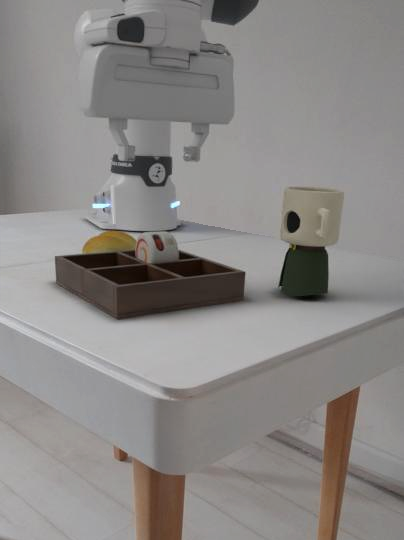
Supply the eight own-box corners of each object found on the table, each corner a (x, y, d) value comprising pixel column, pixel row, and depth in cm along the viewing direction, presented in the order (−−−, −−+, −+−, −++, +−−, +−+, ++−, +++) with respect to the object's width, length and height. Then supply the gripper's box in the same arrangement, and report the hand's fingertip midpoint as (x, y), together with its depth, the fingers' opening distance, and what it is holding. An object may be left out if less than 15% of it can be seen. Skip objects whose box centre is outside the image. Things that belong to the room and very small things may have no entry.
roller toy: (162, 269, 79) (163, 227, 77) (183, 279, 74) (185, 235, 72) (133, 271, 77) (133, 228, 75) (152, 282, 72) (153, 236, 69)
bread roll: (75, 261, 85) (73, 234, 83) (99, 251, 93) (98, 226, 91) (126, 266, 83) (126, 239, 81) (147, 255, 91) (147, 230, 89)
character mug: (264, 284, 76) (273, 184, 72) (314, 284, 78) (326, 186, 73) (287, 307, 66) (299, 192, 62) (345, 306, 68) (361, 194, 63)
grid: (55, 283, 72) (54, 255, 71) (169, 270, 81) (170, 246, 80) (116, 319, 59) (116, 287, 58) (243, 300, 68) (245, 271, 67)
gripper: (218, 47, 73) (212, 160, 79) (69, 25, 62) (74, 158, 68) (249, 44, 69) (240, 163, 74) (94, 19, 58) (97, 162, 63)
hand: (160, 161), depth 71 cm, fingers open, 8 cm apart
